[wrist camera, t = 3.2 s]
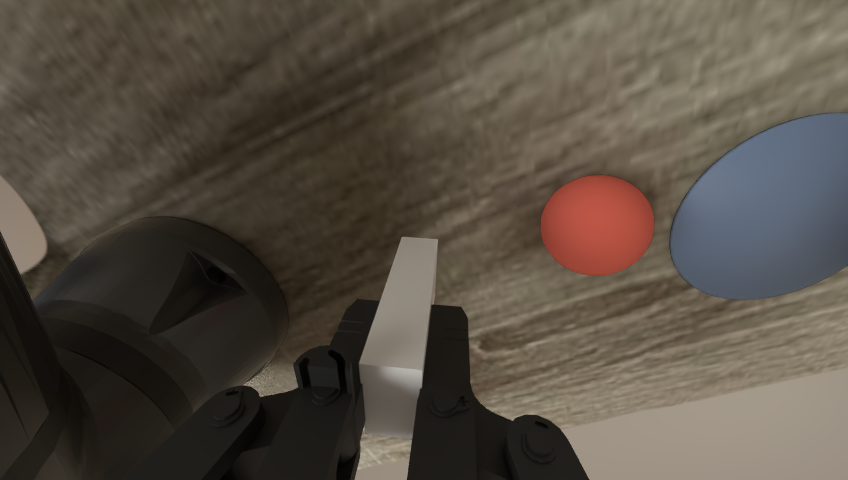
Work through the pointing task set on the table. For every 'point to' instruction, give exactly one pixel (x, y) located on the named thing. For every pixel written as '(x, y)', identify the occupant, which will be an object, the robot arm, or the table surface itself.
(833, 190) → the blue disc
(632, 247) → the ball
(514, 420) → the robot arm
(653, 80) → the table surface
